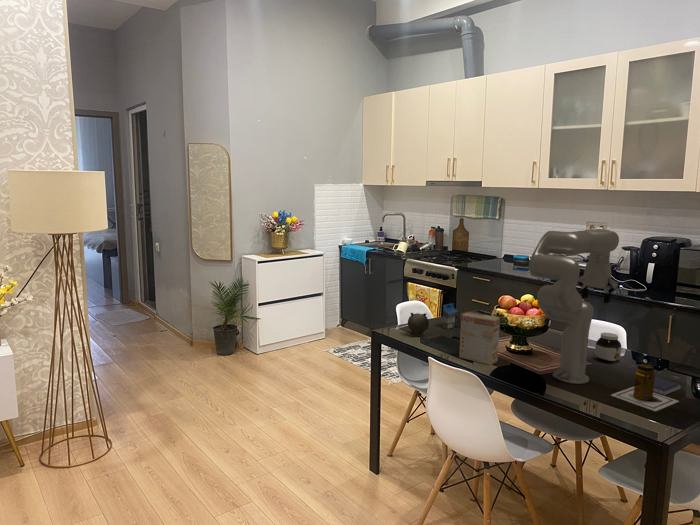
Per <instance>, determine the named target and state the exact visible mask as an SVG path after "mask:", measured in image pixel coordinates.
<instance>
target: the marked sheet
mask: <svg viewBox="0 0 700 525" xmlns="http://www.w3.org/2000/svg"><path fill="white" fill-rule="evenodd" d="M629 394H634V386H632V387H628V388H626V389H623V390H620V391H618V392H614V393H611V394H610V396H611V397H614V398H616V399H619V400H622V401H625V402H627V403H630V404H633V405H635V406H639V407H642V408H644V409H647V410H650V411H653V412H658V411H661V410H663V409H666V408H667V407H668V408H669V407H670V406H672V405H674V404H676V403H680V401H679V400H678V399H674V398H671V397H669V396H666V395H663V394H660V393H657V392H653V396H654V397H656V398H658V399H660V400H662V401H653V402H640V401H639V400H637V399H635V398H633V397H632V396H630V395H629Z"/></svg>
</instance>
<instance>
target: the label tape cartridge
mask: <svg viewBox="0 0 700 525" xmlns="http://www.w3.org/2000/svg"><path fill="white" fill-rule="evenodd" d="M454 304H455V303H454V302H453V303H452V302H451V303H447V304H443V306H442V326H441V329H444V328H445V330H451V329H454V327H455V328H458V327H459V316H460V315H459V314H460V311H458V310H457V308H455V306H454ZM457 326H458V327H457ZM450 328H451V329H450Z"/></svg>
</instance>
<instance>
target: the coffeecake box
mask: <svg viewBox="0 0 700 525" xmlns="http://www.w3.org/2000/svg"><path fill="white" fill-rule="evenodd" d="M460 317H461V318H460V335H459V336H460V337H459V353H458V354H459V356H458V358H460V359H464V360H469V361H473V362H476V363H477V362H478V363H480V364H485V365H490V366H491V365H493V364H495V363H497V362H498V358H499V357H498V356H499V340H500V325H501V324H500V323H501V317H499V316H494V315H487V314H483V313H477V312H472V311H466V312H465V313H462V314H461V316H460Z"/></svg>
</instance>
